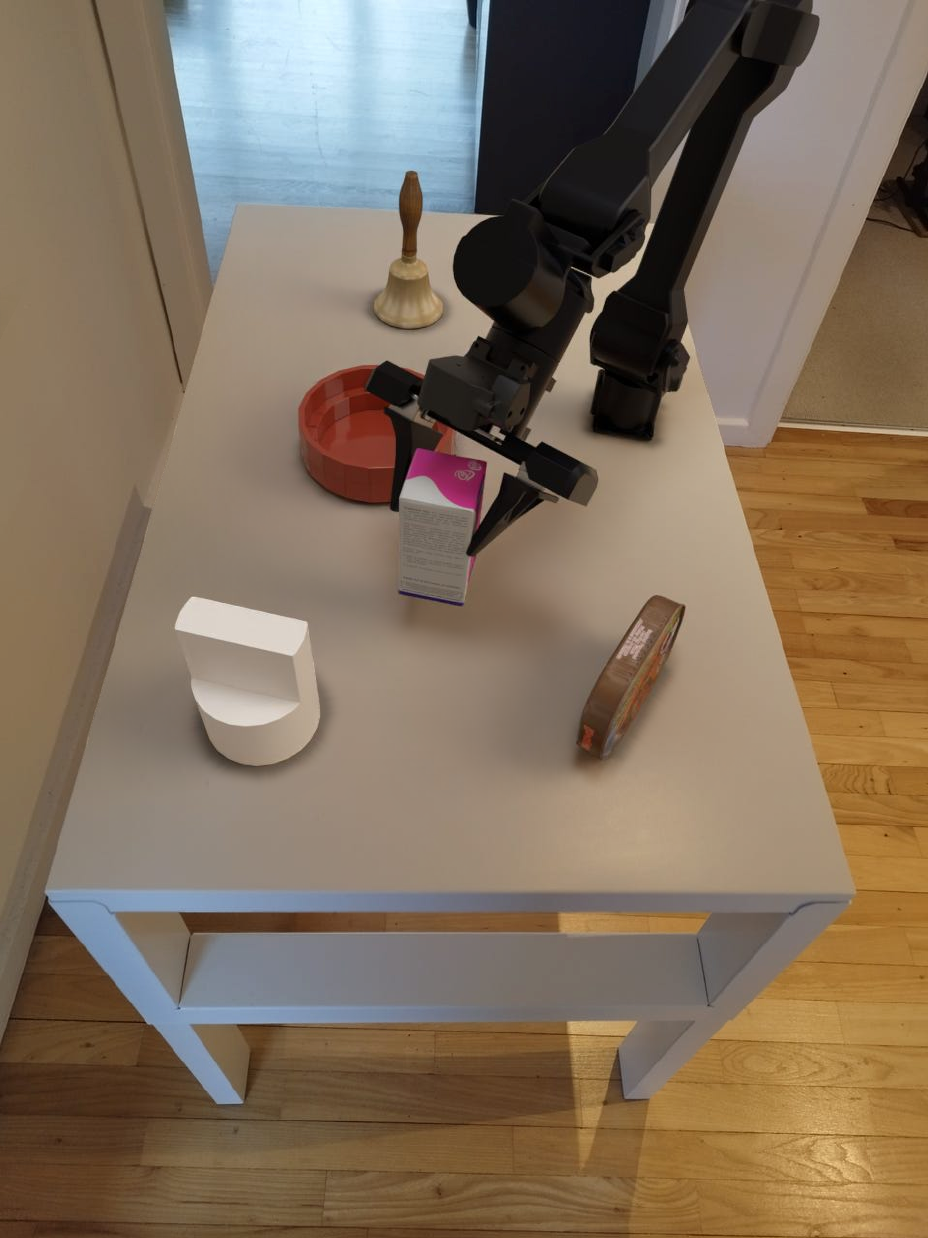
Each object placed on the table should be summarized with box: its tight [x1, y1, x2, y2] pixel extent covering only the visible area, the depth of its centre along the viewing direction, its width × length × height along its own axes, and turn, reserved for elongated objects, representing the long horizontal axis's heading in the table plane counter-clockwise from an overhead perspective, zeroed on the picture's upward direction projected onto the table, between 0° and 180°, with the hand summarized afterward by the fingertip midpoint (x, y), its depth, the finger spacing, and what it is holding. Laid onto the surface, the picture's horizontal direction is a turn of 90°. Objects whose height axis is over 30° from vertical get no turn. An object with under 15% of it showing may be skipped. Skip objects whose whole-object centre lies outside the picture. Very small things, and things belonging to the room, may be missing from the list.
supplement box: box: [397, 448, 488, 607], centre depth 70 cm, size 6×6×12 cm
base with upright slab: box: [174, 595, 321, 767], centre depth 65 cm, size 9×9×12 cm
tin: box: [575, 594, 686, 762], centre depth 69 cm, size 15×3×8 cm, turn 148°
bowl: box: [297, 364, 457, 504], centre depth 87 cm, size 15×15×5 cm
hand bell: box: [372, 170, 444, 330], centre depth 98 cm, size 8×8×16 cm
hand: (430, 532), depth 68 cm, fingers closed on supplement box, 7 cm apart
